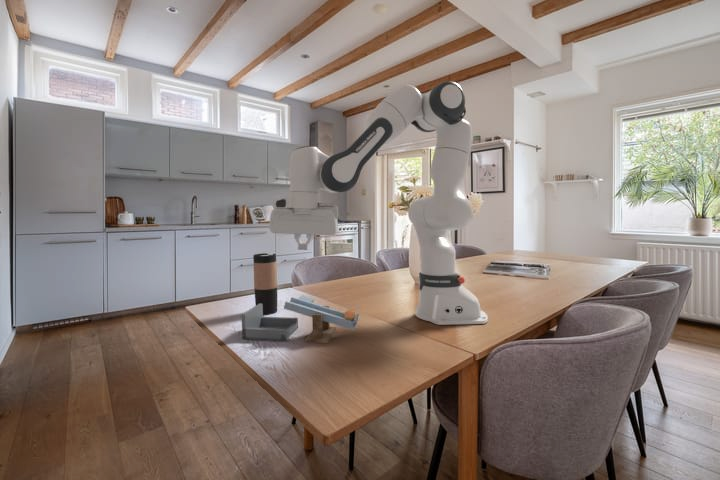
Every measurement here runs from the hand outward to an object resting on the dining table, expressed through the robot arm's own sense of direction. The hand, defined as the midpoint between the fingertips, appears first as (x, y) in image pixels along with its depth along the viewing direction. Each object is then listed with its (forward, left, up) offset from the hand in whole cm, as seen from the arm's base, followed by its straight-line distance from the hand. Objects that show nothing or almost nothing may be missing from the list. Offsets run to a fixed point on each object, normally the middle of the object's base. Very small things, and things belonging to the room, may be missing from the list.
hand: (303, 249), depth 103 cm
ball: (-15, +7, -17) cm, 24 cm away
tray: (+8, +7, -23) cm, 25 cm away
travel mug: (+18, -13, -24) cm, 32 cm away
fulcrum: (-7, +7, -23) cm, 25 cm away
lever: (-7, +4, -18) cm, 19 cm away
